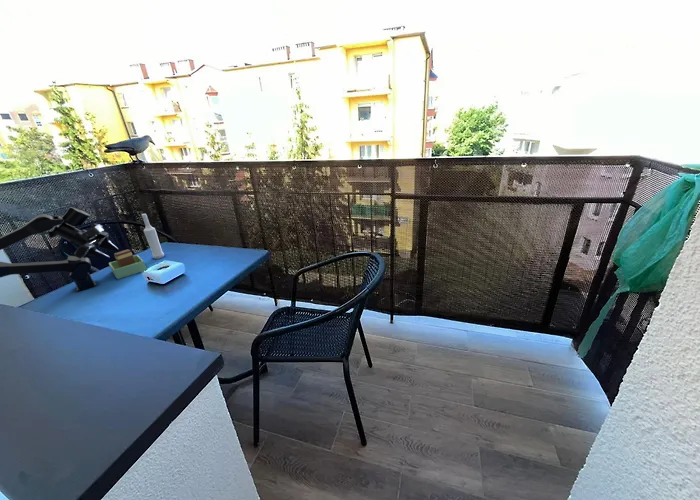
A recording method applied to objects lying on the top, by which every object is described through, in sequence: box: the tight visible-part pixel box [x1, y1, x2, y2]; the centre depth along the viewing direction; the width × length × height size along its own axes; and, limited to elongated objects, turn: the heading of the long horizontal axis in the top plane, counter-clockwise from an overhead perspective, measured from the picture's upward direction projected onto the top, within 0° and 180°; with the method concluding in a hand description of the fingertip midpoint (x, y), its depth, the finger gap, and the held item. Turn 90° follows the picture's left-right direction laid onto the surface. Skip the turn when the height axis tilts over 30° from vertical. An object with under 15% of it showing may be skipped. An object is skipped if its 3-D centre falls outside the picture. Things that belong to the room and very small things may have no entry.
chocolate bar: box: [113, 248, 135, 268], centre depth 136 cm, size 6×3×10 cm, turn 148°
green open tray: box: [108, 254, 147, 280], centre depth 137 cm, size 12×12×5 cm
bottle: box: [141, 213, 165, 260], centre depth 147 cm, size 5×5×25 cm
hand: (113, 254), depth 124 cm, fingers open, 9 cm apart
